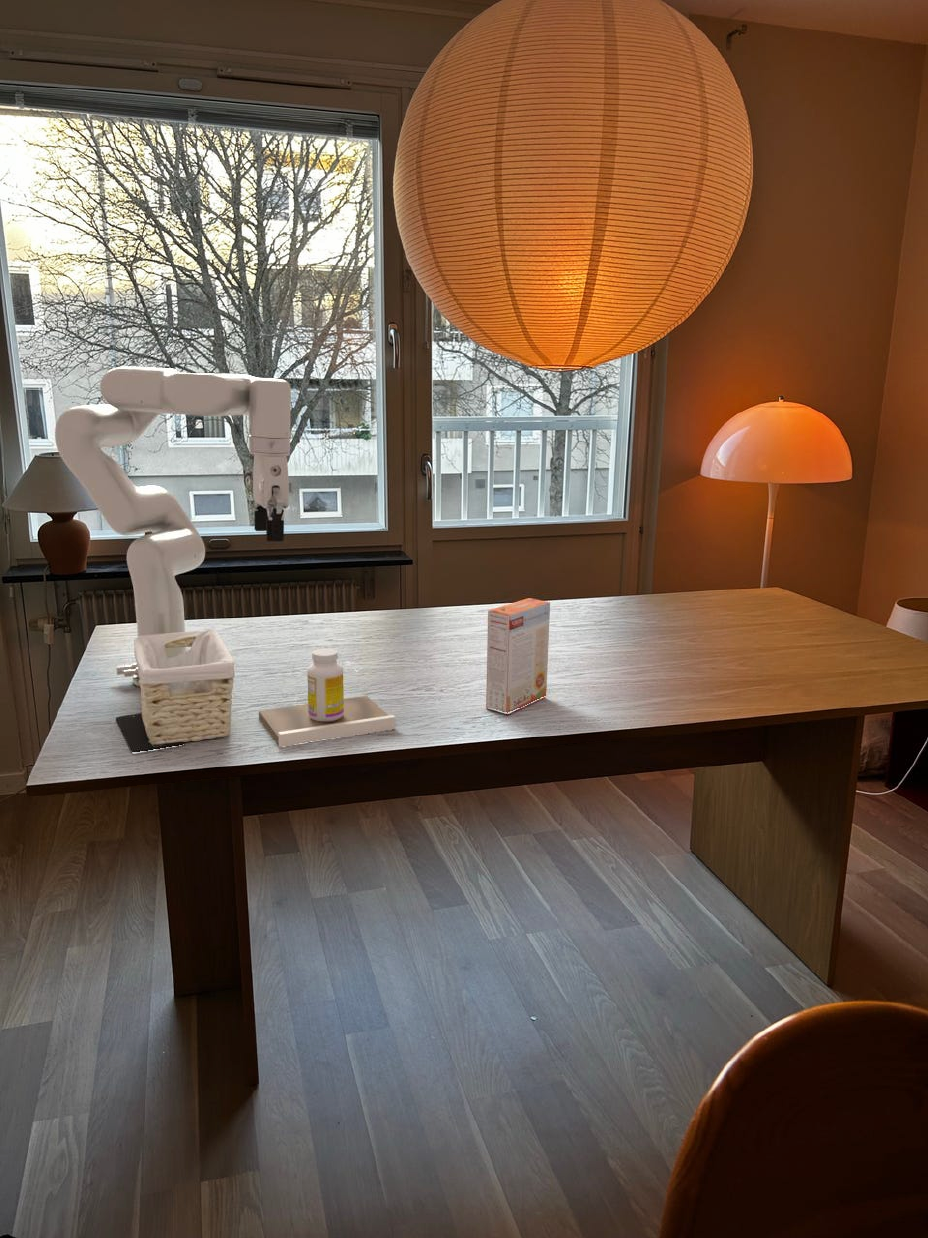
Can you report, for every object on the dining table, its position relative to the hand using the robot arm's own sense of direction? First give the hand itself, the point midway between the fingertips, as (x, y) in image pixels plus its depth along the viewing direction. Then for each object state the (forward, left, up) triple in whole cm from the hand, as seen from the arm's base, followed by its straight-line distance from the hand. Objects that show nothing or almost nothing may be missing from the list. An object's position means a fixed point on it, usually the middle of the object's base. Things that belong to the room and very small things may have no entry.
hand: (268, 535), depth 173 cm
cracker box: (+45, -21, -34) cm, 60 cm away
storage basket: (-18, -5, -34) cm, 39 cm away
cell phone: (-25, -8, -34) cm, 43 cm away
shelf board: (+6, -16, -34) cm, 38 cm away
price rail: (+6, -24, -34) cm, 42 cm away
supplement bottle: (+6, -17, -32) cm, 37 cm away
